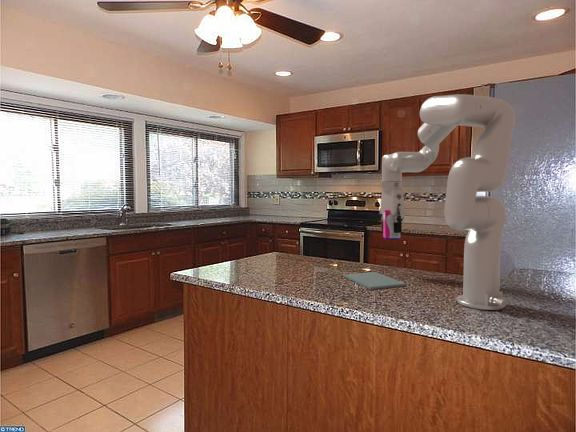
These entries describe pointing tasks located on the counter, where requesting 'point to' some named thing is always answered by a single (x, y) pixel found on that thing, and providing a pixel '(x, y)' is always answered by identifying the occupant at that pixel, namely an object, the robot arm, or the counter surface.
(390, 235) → the supplement box
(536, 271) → the counter surface
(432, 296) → the counter surface
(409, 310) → the counter surface
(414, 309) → the counter surface
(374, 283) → the rubber mat
